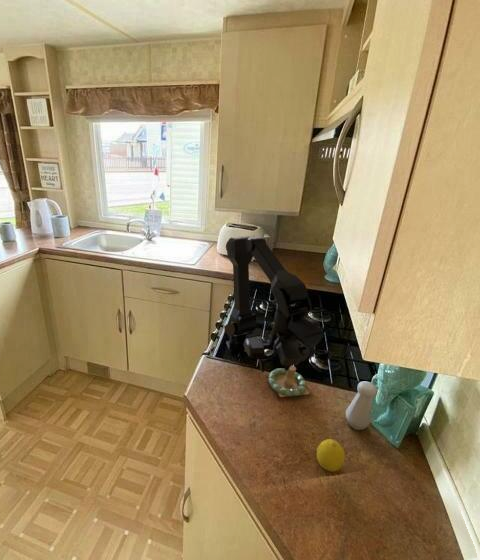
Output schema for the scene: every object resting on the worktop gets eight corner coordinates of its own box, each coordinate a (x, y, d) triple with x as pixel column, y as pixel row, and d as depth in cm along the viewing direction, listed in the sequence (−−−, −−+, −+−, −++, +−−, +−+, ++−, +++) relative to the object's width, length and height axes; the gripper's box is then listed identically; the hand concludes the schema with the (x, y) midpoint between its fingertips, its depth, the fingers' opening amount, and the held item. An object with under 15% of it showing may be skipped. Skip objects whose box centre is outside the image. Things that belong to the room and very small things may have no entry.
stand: (268, 377, 97) (271, 359, 94) (295, 374, 98) (299, 356, 95) (279, 399, 89) (283, 380, 86) (309, 396, 90) (313, 377, 87)
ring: (263, 373, 97) (263, 368, 96) (295, 370, 98) (296, 365, 98) (276, 399, 87) (277, 394, 87) (311, 395, 89) (313, 390, 88)
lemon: (308, 458, 73) (315, 434, 69) (329, 453, 74) (337, 429, 70) (323, 482, 68) (331, 457, 64) (345, 476, 69) (354, 451, 66)
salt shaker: (372, 433, 79) (387, 395, 74) (349, 432, 79) (362, 394, 74) (361, 414, 84) (374, 377, 79) (340, 414, 84) (351, 376, 79)
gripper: (261, 345, 75) (251, 393, 81) (332, 342, 78) (317, 389, 84) (247, 319, 85) (239, 364, 91) (310, 317, 88) (299, 361, 94)
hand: (274, 370), depth 90 cm, fingers open, 7 cm apart
